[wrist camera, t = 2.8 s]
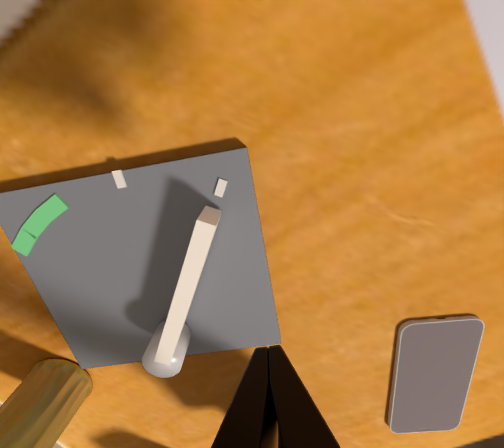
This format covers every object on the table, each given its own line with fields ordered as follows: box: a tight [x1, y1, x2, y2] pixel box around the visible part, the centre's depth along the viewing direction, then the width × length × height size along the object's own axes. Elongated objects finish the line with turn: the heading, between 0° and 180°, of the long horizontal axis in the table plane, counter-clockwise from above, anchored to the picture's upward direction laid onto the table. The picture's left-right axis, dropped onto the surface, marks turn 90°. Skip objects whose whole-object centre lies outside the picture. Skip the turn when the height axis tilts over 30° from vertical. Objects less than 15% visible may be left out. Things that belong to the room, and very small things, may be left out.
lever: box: [142, 206, 222, 378], centre depth 19 cm, size 14×3×3 cm, turn 160°
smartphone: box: [387, 315, 485, 434], centre depth 25 cm, size 7×1×15 cm
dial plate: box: [0, 147, 281, 369], centre depth 20 cm, size 17×19×1 cm
